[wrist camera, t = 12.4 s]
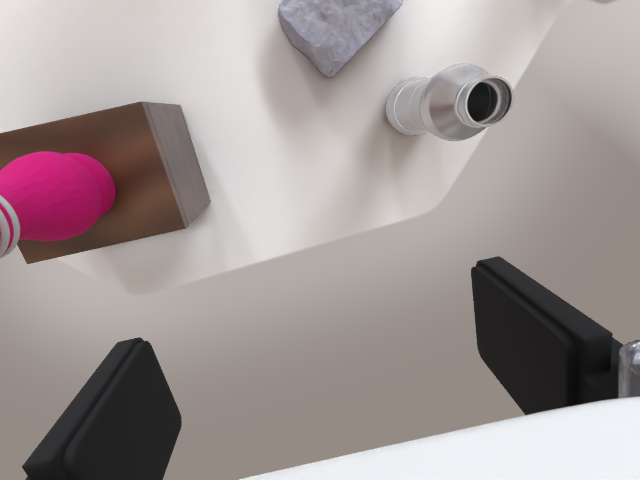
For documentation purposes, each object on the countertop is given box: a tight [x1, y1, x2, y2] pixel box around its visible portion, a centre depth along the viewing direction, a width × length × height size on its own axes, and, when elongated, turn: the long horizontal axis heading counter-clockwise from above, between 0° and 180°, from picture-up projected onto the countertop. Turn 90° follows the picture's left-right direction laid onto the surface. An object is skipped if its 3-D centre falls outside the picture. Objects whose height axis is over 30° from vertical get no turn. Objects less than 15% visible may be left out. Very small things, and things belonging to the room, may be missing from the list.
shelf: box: [0, 102, 211, 264], centre depth 41 cm, size 12×16×12 cm
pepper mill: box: [0, 151, 116, 258], centre depth 26 cm, size 7×7×20 cm
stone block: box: [278, 0, 403, 78], centre depth 41 cm, size 12×5×10 cm
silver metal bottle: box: [386, 64, 514, 141], centre depth 37 cm, size 6×7×20 cm
